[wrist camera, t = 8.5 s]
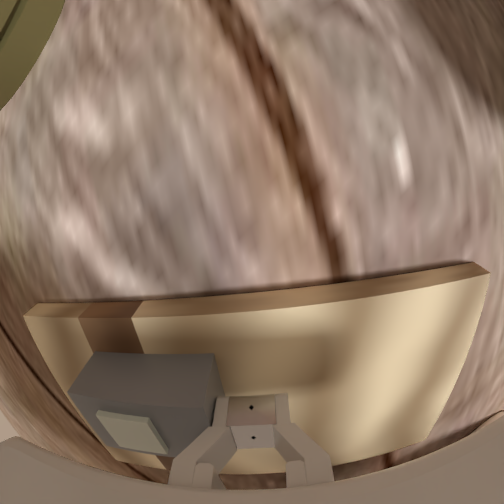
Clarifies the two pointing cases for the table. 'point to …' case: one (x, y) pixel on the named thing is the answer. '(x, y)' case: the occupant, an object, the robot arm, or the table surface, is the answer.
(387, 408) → the plank
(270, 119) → the table surface
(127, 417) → the block
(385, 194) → the table surface
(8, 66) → the piston
